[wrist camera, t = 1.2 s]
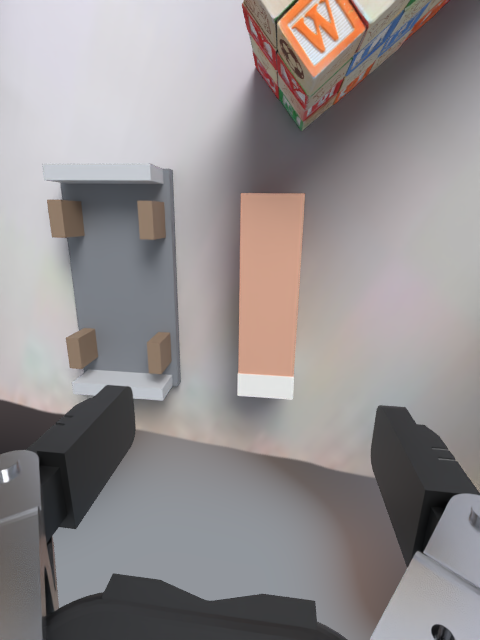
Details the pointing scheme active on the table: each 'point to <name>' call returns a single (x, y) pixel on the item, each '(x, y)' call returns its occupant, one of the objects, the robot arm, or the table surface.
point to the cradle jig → (120, 274)
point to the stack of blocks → (327, 45)
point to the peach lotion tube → (269, 292)
